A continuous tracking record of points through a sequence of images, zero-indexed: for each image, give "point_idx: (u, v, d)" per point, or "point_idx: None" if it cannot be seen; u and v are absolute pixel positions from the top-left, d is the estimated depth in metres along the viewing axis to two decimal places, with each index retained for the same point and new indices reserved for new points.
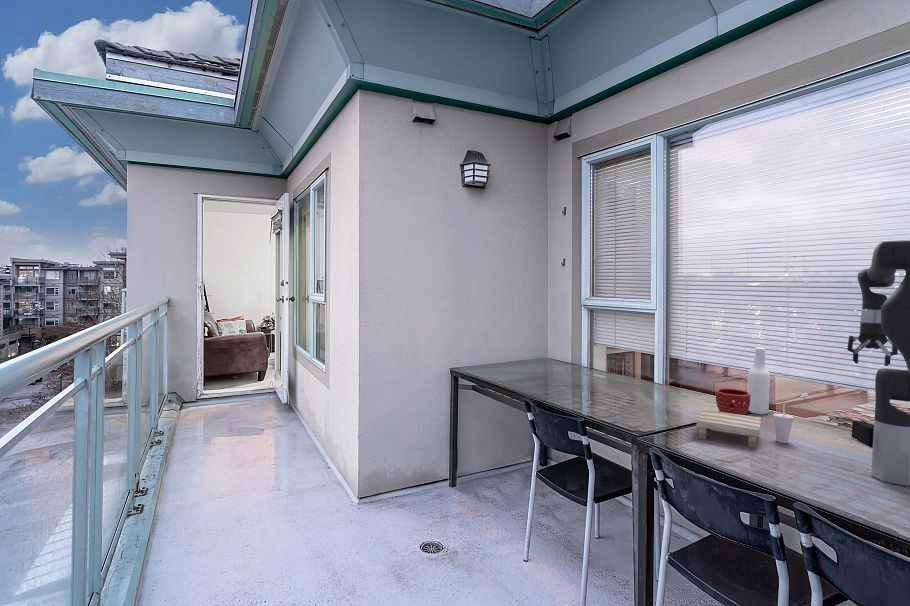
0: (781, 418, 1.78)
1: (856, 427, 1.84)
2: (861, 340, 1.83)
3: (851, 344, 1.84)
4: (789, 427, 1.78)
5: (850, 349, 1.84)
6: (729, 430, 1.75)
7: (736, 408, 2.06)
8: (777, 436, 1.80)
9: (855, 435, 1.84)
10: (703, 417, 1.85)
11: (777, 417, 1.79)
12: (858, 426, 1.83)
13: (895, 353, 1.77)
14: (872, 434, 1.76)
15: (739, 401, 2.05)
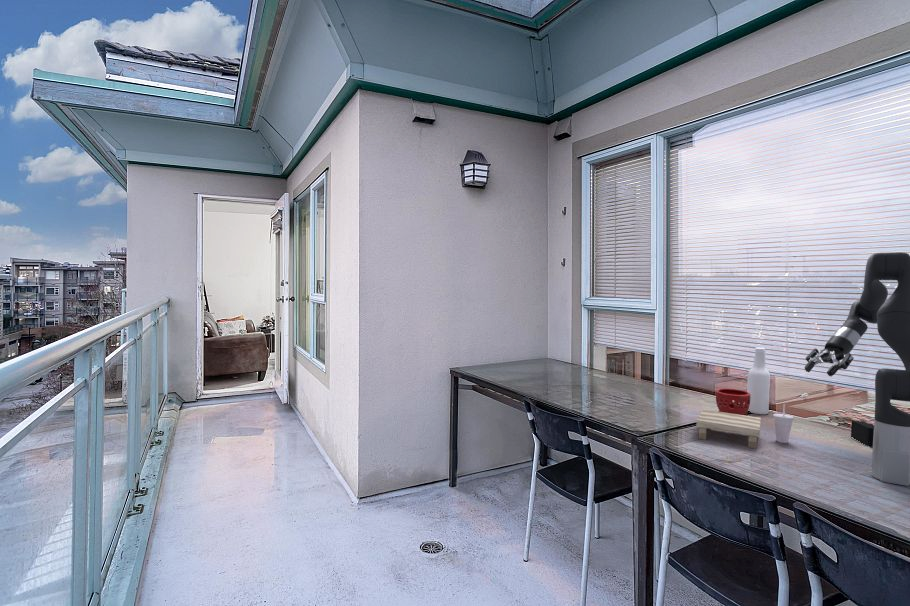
0: (781, 418, 1.78)
1: (855, 427, 1.84)
2: (821, 352, 1.84)
3: (811, 354, 1.87)
4: (789, 427, 1.78)
5: (807, 357, 1.87)
6: (729, 430, 1.75)
7: (736, 408, 2.06)
8: (777, 436, 1.80)
9: (855, 435, 1.84)
10: (703, 417, 1.85)
11: (777, 417, 1.79)
12: (857, 426, 1.83)
13: (841, 363, 1.74)
14: (872, 434, 1.76)
15: (739, 401, 2.05)
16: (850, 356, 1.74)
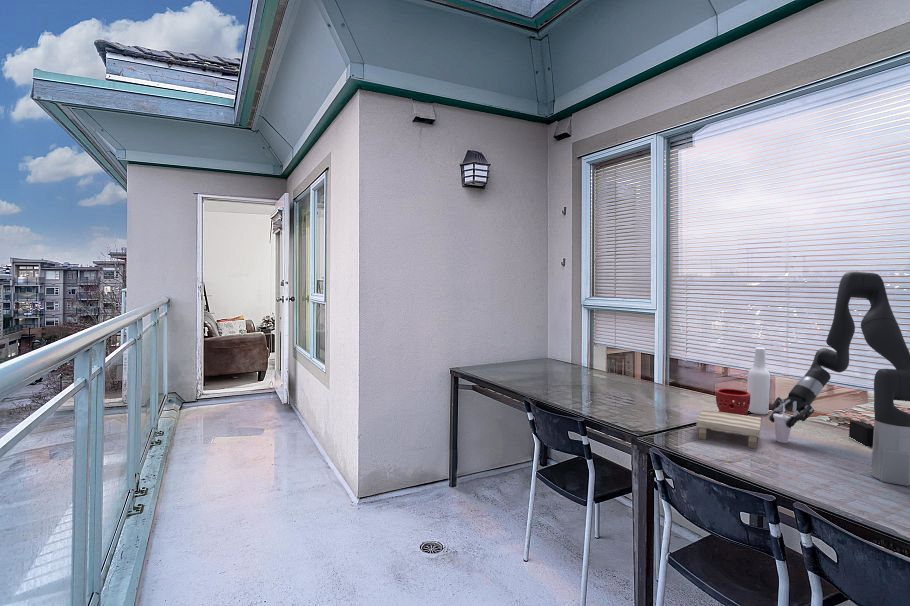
0: (781, 418, 1.78)
1: (854, 427, 1.84)
2: (785, 401, 1.84)
3: (775, 403, 1.86)
4: None
5: (772, 407, 1.86)
6: (729, 430, 1.75)
7: (736, 408, 2.06)
8: (777, 436, 1.80)
9: (853, 435, 1.84)
10: (703, 417, 1.85)
11: (777, 417, 1.79)
12: (855, 426, 1.83)
13: (799, 415, 1.75)
14: (870, 434, 1.76)
15: (739, 401, 2.05)
16: (810, 409, 1.74)
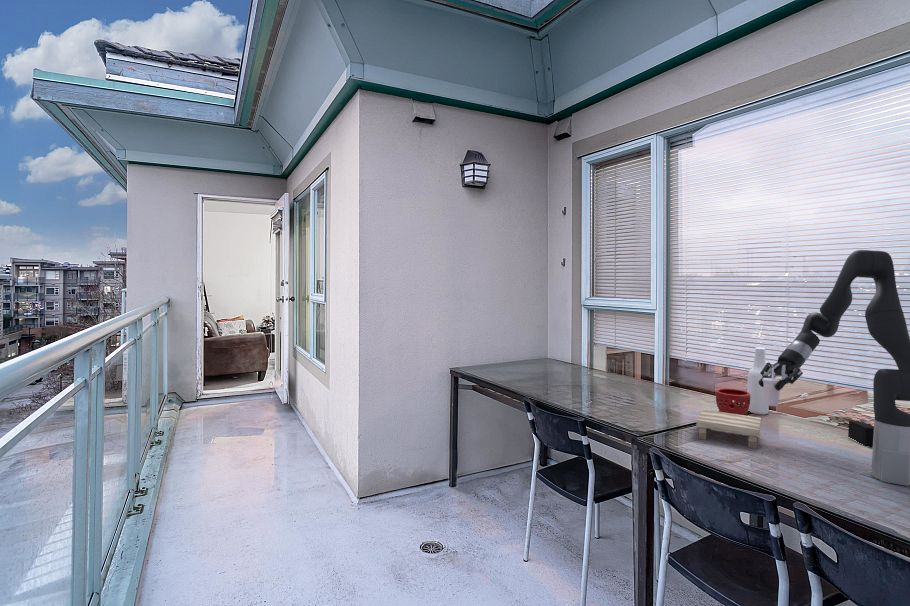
0: (770, 381, 1.78)
1: (853, 427, 1.84)
2: (774, 365, 1.84)
3: (765, 368, 1.87)
4: None
5: (762, 372, 1.86)
6: (729, 430, 1.75)
7: (736, 408, 2.06)
8: (766, 400, 1.81)
9: (852, 435, 1.84)
10: (703, 417, 1.85)
11: (766, 381, 1.80)
12: (854, 426, 1.83)
13: (788, 378, 1.75)
14: (869, 434, 1.76)
15: (739, 401, 2.05)
16: (799, 371, 1.75)
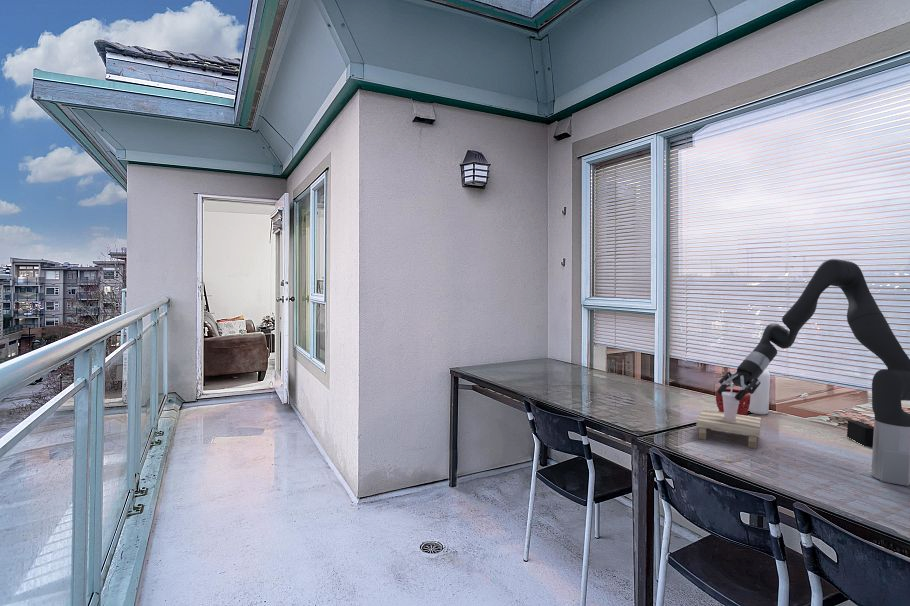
0: (728, 396, 1.81)
1: (852, 427, 1.84)
2: (733, 376, 1.87)
3: (724, 377, 1.90)
4: (736, 405, 1.81)
5: (721, 380, 1.90)
6: (729, 430, 1.75)
7: None
8: (725, 414, 1.83)
9: (851, 435, 1.84)
10: (703, 417, 1.85)
11: (725, 395, 1.82)
12: (853, 426, 1.83)
13: (748, 388, 1.77)
14: (868, 434, 1.76)
15: (739, 401, 2.05)
16: (757, 381, 1.78)
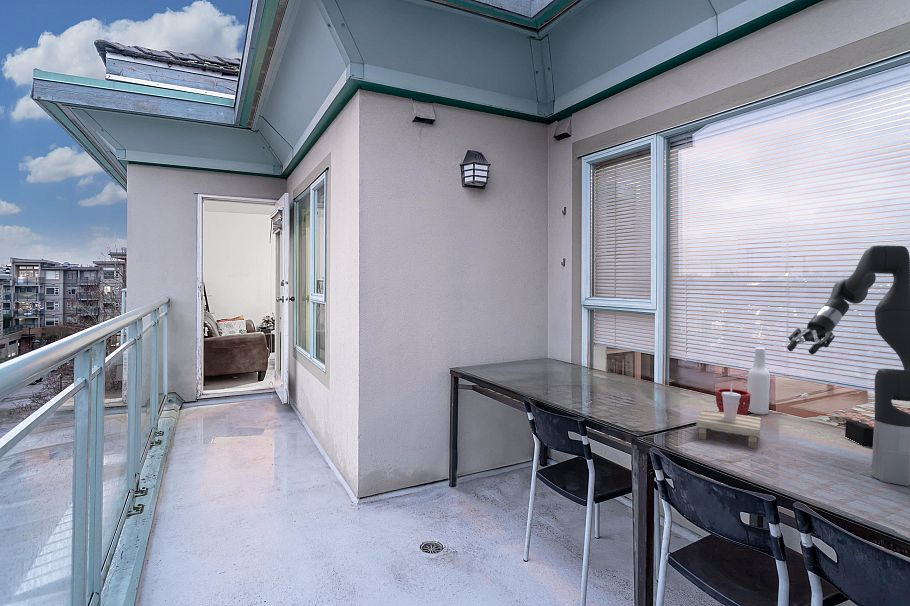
0: (728, 396, 1.81)
1: (850, 427, 1.84)
2: (803, 331, 1.85)
3: (793, 334, 1.88)
4: (736, 405, 1.81)
5: (790, 337, 1.88)
6: (729, 430, 1.75)
7: None
8: (725, 414, 1.83)
9: (849, 435, 1.84)
10: (703, 417, 1.85)
11: (724, 395, 1.82)
12: (852, 426, 1.83)
13: (822, 341, 1.75)
14: (866, 434, 1.76)
15: (739, 401, 2.05)
16: (831, 334, 1.76)
